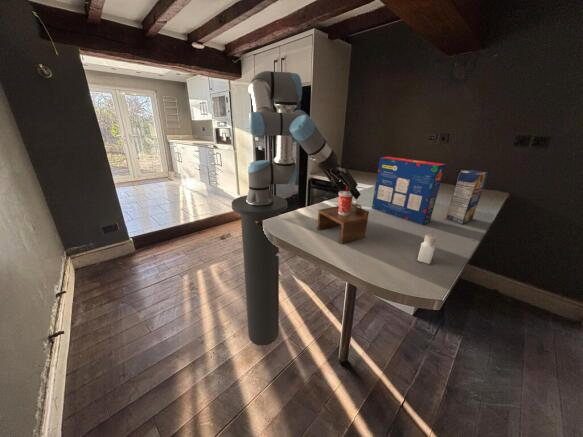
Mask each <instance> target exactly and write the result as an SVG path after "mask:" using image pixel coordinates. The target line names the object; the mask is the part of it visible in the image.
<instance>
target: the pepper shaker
mask: <svg viewBox="0 0 583 437" xmlns="http://www.w3.org/2000/svg"><path fill="white" fill-rule="evenodd" d="M436 240H437V236H435V235H434V234H430V233H426V234H425V236H424V239H423V241H422V242H421V244H420V247H419V248H420V249H419V251H418V255H417V262H421V263H423V264H424V263H425V264H428V265H430V264H431V263H432V260H433V256H434V253H435V249H436V245H435V243H436Z"/></svg>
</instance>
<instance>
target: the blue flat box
mask: <svg viewBox="0 0 583 437" xmlns="http://www.w3.org/2000/svg"><path fill="white" fill-rule="evenodd" d="M445 168H446V163H440V162H433V161H425V160H418V159H417V160H416V159H408V158H403V157H393V156H383V157H379V161H378V169H377V174H376V179H375V184H374V192H373V198H372V204H371V209H373V210H375V211H379V212H381V213H385V214H388V215H390V216H394V217H397V218H400V219H403V220H406V221H410V222H412V223H415V224H419V225H421V226H424V225H425V224H427V223H429V222H431V220H432V215H433V212H434V209H435V205H436V201H437V197H438V193H439V190H440V186H441V183H442V179H443V176H444V172H445Z"/></svg>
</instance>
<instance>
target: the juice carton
mask: <svg viewBox="0 0 583 437" xmlns="http://www.w3.org/2000/svg"><path fill="white" fill-rule="evenodd" d="M488 177H489V172H487V171H481V170H475V169H474V170H473V169H468V170H463V171H459V174H458V177H457V180H456V183H455V187H454V190H453V193H452V197H451V200H450V202H449V206H448V210H447V213H446V216H445V220H447V221H451V222H454V223H457V224H460V225H463V224H465V223H468V222H470V221H472V220H473V219H474V216H475V212H476V210H477V208H478V204H479V201H480V198H481V196H482V193H483V190H484V187H485V185H486V182H487V178H488Z"/></svg>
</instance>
